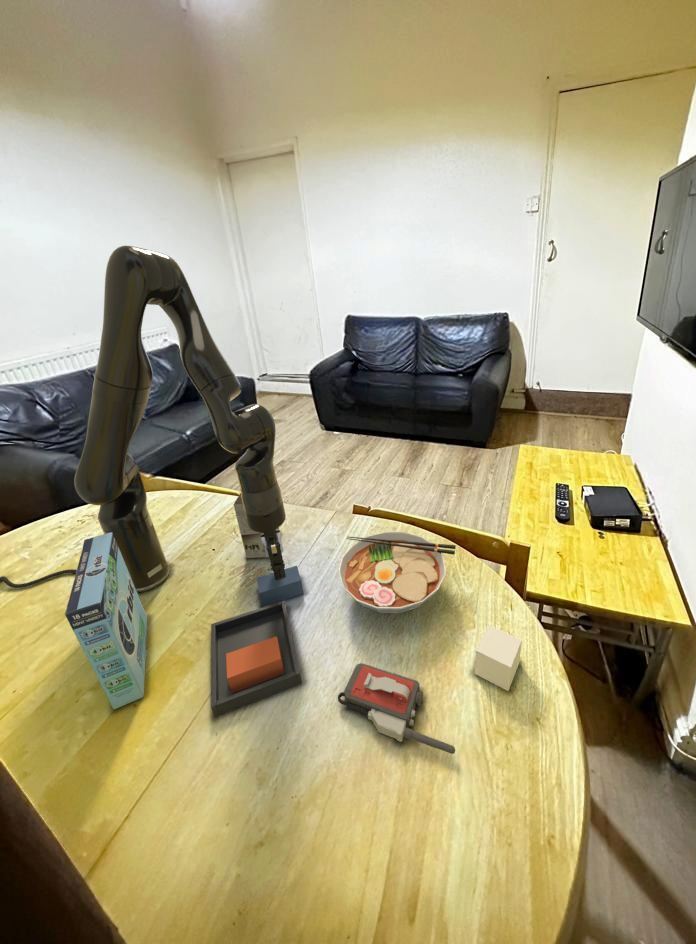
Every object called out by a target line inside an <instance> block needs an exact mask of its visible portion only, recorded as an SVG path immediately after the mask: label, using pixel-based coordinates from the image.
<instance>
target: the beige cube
mask: <svg viewBox="0 0 696 944" xmlns="http://www.w3.org/2000/svg"><path fill="white" fill-rule="evenodd" d="M522 642H523V639H521V638H519V637H517V636H515V635H512V634H510V633H508V632H506V631H503V630H501V629H499V628H496V627H495V626H492V625H490V624H488V625H487V627H486V630H485V632H484V634H483V635H482V637H481V640H480V642H479V643H478V645H477V647H476V649H475V660H474V661H475V662H474V675H476V676H478V677H480V678H482V679H484V680H486V681H488V682H489V683H492V684H493V685H495V686H497V687H498V688H501V689H503V690H505V691H507V692H509V690H510V688H511V686H512V683H513V681H514V678H515V676H516V673H517V670H518V667H519V666H520V665H519V664H520V659H521V654H522V653H521V652H522V644H523V643H522Z"/></svg>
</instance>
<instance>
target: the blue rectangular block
mask: <svg viewBox="0 0 696 944" xmlns="http://www.w3.org/2000/svg"><path fill="white" fill-rule="evenodd" d="M284 570H285V574H286V577H285V578H283V579H280V580H275V576H274V572H273V571H272V572H271V573H267V574H264V575H260V576H257V577H256V582H257V584H256V585H257V591H258V596H259V600H260V605H261V608H262V607H265V606H269V605H272V604H275V603H278V602H281V601H286V600H289V599H291V598H292V599H293V598H294V597H297V596H301V595H304V594H305V593H304V588H303V584H302V578H301V575H300V571H299V568H298V565H294V566H291V567H287V568H284Z"/></svg>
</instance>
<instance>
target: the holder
mask: <svg viewBox="0 0 696 944" xmlns="http://www.w3.org/2000/svg"><path fill="white" fill-rule="evenodd" d="M210 628H211V629H210V708H211V710H212V714H213V715H214V717H215V718H216V717H218V716H221V715H223V714H227V713H229V712H231V711H234V710H237V709H239V708H241V707H244V706H247V705H249V704H253V703H255V702H257V701H260V700H262V699H264V698H267V697H270V696H272V695H274V694H277V693H280V692H283V691H285V690H288V689H290V688H293V687H295V686H298V685H300V684H302V683H303V680H302V676H301V671H300V666H299V661H298V656H297V652H296V647H295V642H294V638H293V632H292V628H291V623H290V619H289V614H288V609H287V605H286V600H283V601H279V602H276V603H273V604H270V605H267V606H264V607H262V606H261V607H260V608H256V609H253V610H250V611H248V612H244V613H240V614H237V615H235V616H232V617H229V618H225V619H222V620H219V621H216V622H214V623H211V624H210ZM276 636H277V638H278V643H279V647H280V651H281V657H282V662H283V668H284V674H282V675H280V676H277V677H274V678H272V679H269V680H267V681H264V682H261V683H259V684H256V685H253V686H251V687H248V688H245V689H243V690H240V691H238V692H235V693H232V692H231V689H230V686H229V683H228V680H227V663H226V654H227V653H230V652H233V651H236V650H239V649H241V648H244V647H247V646H250V645H253V644H256V643H259V642H261V641H264V640H267V639H270V638H273V637H276Z"/></svg>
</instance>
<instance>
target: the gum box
mask: <svg viewBox="0 0 696 944" xmlns="http://www.w3.org/2000/svg"><path fill="white" fill-rule="evenodd" d="M76 570H77V571H76V573H75V576H74V579H73V583H72V586H71V591H70V595H69V599H68V602H67V605H66V608H65V612H64V615H65V618H66V619H67V621H68V623H69V625H70V628H71V629H72V632H73V633H74V635H75V638H76V640H77V641H78V643H79V644H80V646H81V649H82V650H83V652H84V654H85V657H86V658H87V660H88V662H89V664H90V667H91V669H92V670H93V672H94V674H95V676H96V678H97V680H98V683H99V684H100V686H101V688H102V689H103V692H104V694H105V695H106V698H107V700H108V701H109V704H110V706H111V707H112V709H113V710H114V711H115V710H117V709H119V708H121V707H124V706H126V705H128V704H131V703H133V702H136V701H138V700H140V699H143V698H144V696H145V676H146V654H147V635H148V634H147V633H148V615H147V614H146V611H145V609H144V606H143V604H142V601H141V599H140V597H139V593H138V592H137V591H136V589H135V587H134V584H133V582H132V579H131V577H130V574H129V572H128V569H127V567H126V564H125V562H124V560H123V557H122V555H121V552H120V550H119V547H118V545H117V542H116V540H115V538H114V535H113V533H112V532H111V533H107V534H104V533H103V534H100V535H96V536H92V537H89V538H86V539H84V540H83V544H82V549H81V553H80V556H79V560H78V565H77V567H76Z"/></svg>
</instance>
